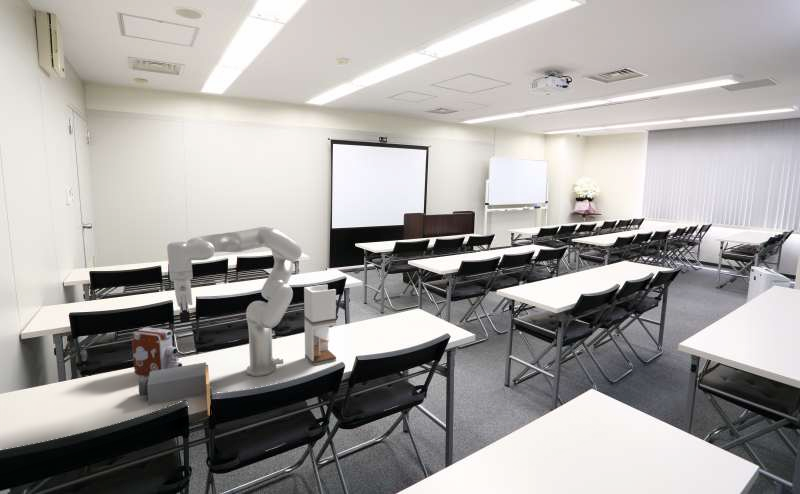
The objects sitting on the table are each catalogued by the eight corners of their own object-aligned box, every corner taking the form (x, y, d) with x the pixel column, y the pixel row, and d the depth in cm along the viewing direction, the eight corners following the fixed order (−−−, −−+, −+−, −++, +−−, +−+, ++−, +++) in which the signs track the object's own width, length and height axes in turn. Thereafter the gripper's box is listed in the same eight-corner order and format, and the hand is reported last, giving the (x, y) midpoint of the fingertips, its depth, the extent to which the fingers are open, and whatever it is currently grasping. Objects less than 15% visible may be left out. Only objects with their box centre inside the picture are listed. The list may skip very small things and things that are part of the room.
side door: (206, 393, 157) (205, 364, 155) (212, 392, 157) (210, 363, 156) (207, 415, 142) (206, 384, 140) (213, 414, 143) (212, 383, 141)
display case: (312, 366, 183) (312, 292, 178) (305, 357, 192) (304, 287, 186) (335, 360, 189) (335, 289, 184) (327, 352, 198) (327, 284, 192)
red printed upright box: (170, 382, 165) (167, 336, 162) (131, 376, 169) (127, 331, 166) (186, 372, 174) (184, 328, 171) (149, 367, 178) (145, 324, 175)
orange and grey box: (206, 380, 168) (206, 362, 166) (208, 393, 157) (207, 374, 156) (142, 391, 157) (140, 372, 156) (139, 407, 147) (137, 386, 145)
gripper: (193, 278, 144) (197, 326, 147) (191, 269, 157) (194, 314, 160) (169, 280, 140) (174, 329, 144) (169, 272, 153) (173, 317, 156)
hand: (185, 321), depth 152 cm, fingers closed
